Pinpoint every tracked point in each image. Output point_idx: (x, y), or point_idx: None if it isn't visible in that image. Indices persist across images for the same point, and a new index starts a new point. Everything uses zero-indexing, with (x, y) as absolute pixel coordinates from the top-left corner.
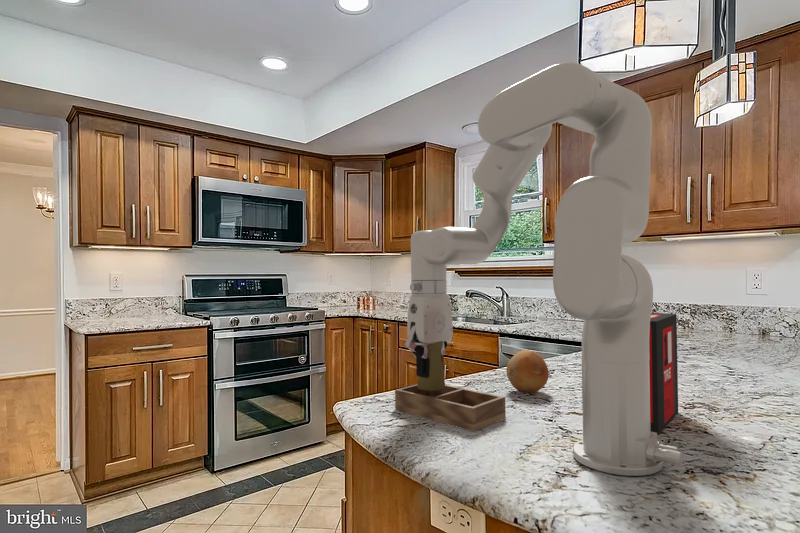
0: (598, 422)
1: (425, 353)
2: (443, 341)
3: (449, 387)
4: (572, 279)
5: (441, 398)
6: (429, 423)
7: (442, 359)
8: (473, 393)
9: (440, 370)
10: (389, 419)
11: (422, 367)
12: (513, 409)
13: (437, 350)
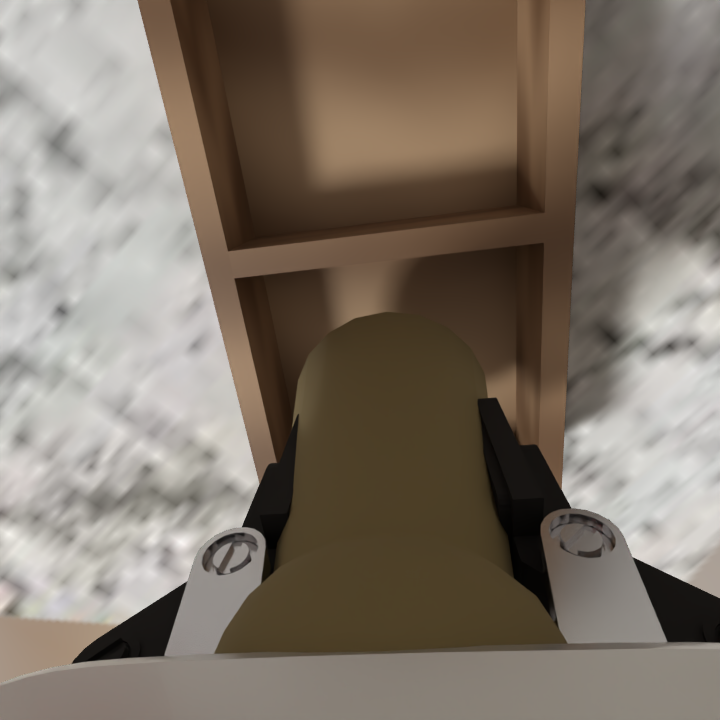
0: None
1: (592, 560)
2: (234, 655)
3: (256, 365)
4: None
5: (471, 220)
6: (586, 170)
7: (279, 484)
8: (210, 152)
9: (374, 385)
10: (666, 360)
11: (549, 471)
12: (8, 22)
13: (404, 537)
